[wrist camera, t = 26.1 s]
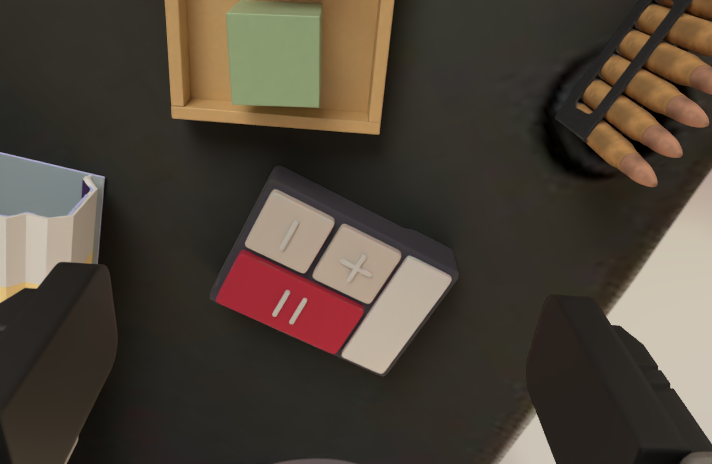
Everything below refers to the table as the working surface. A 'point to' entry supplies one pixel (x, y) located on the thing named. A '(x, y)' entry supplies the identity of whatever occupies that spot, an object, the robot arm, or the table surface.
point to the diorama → (45, 221)
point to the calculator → (333, 273)
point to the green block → (275, 53)
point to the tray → (336, 111)
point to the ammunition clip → (644, 84)
